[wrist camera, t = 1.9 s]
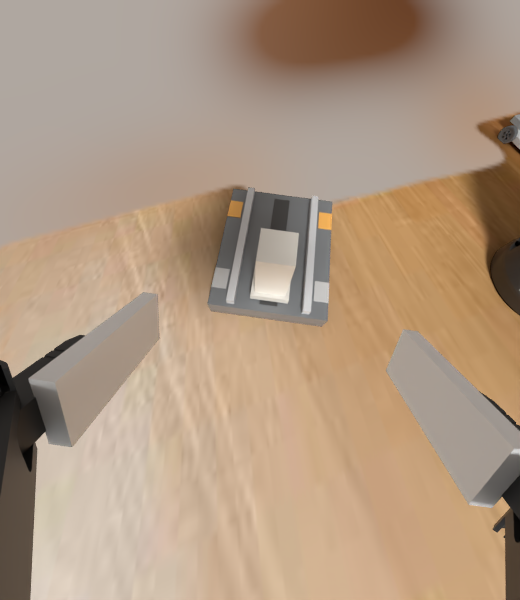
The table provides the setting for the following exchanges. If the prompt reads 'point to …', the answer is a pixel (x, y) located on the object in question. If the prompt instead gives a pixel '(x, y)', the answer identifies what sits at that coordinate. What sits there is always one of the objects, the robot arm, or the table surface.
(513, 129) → the toy car
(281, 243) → the switch slider
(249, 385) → the table surface
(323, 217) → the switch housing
